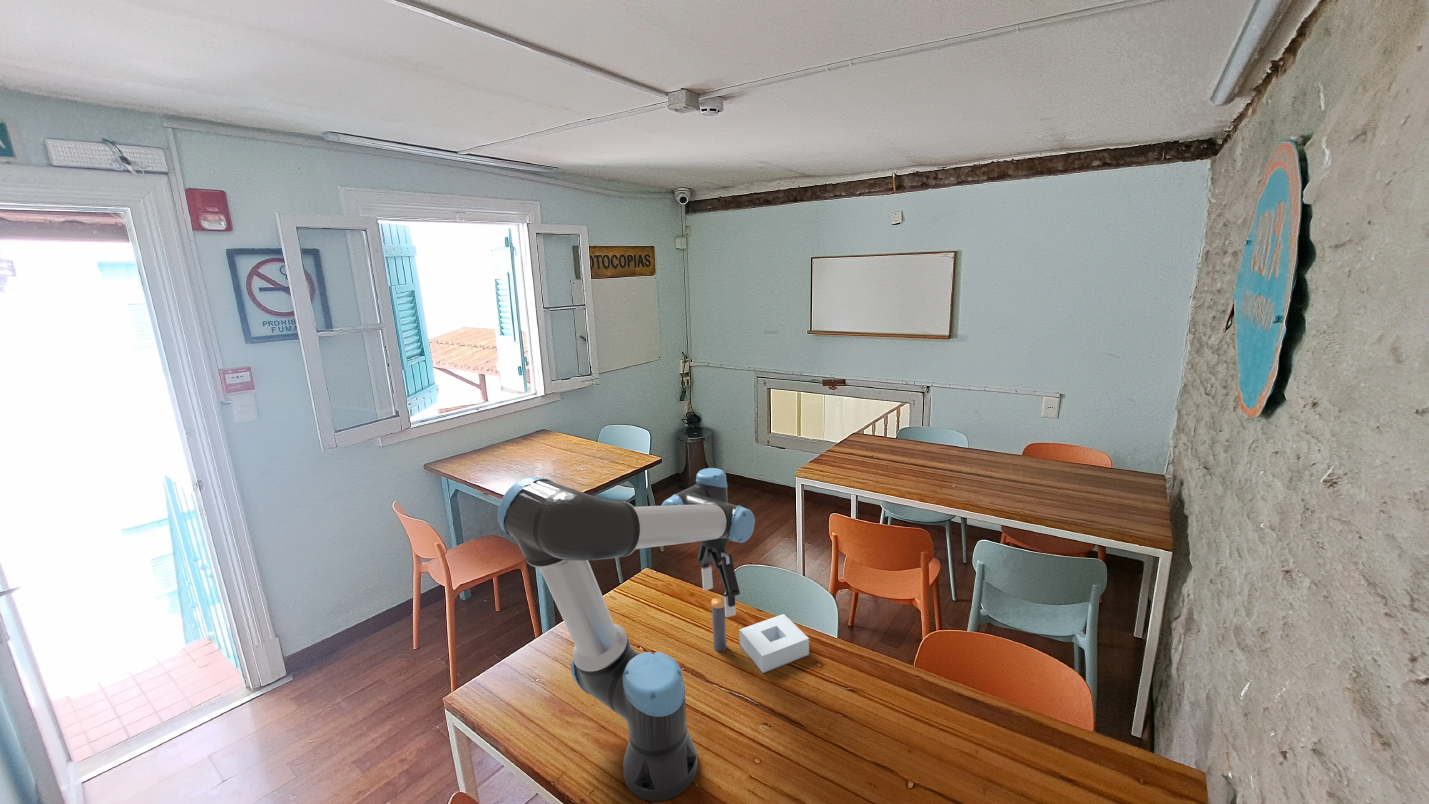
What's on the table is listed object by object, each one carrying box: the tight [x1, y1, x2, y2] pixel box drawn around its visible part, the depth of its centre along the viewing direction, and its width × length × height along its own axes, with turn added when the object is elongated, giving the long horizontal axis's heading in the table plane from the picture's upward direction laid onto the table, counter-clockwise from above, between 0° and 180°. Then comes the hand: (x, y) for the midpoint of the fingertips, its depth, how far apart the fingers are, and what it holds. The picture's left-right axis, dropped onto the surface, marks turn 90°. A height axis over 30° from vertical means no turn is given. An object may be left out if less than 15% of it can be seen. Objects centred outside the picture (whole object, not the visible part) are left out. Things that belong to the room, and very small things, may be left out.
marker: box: [711, 597, 727, 653], centre depth 146 cm, size 4×4×14 cm
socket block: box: [739, 613, 810, 674], centre depth 145 cm, size 12×14×5 cm
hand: (718, 601), depth 144 cm, fingers open, 13 cm apart
